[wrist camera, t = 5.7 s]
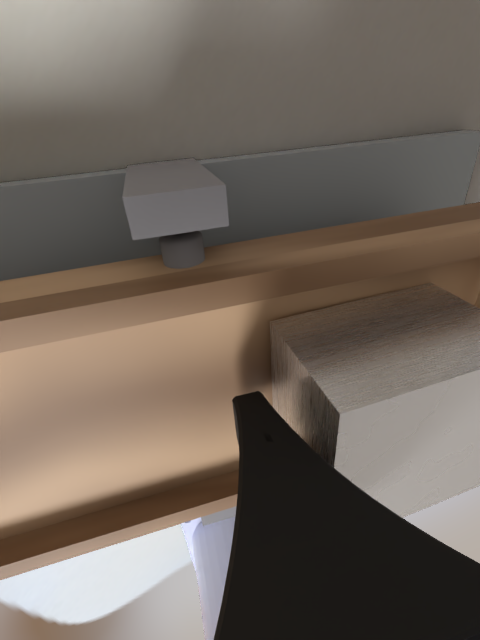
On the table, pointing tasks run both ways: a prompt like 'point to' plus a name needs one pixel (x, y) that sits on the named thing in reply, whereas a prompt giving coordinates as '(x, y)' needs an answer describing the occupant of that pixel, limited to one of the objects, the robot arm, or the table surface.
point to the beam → (174, 369)
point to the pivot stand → (226, 201)
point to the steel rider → (386, 392)
